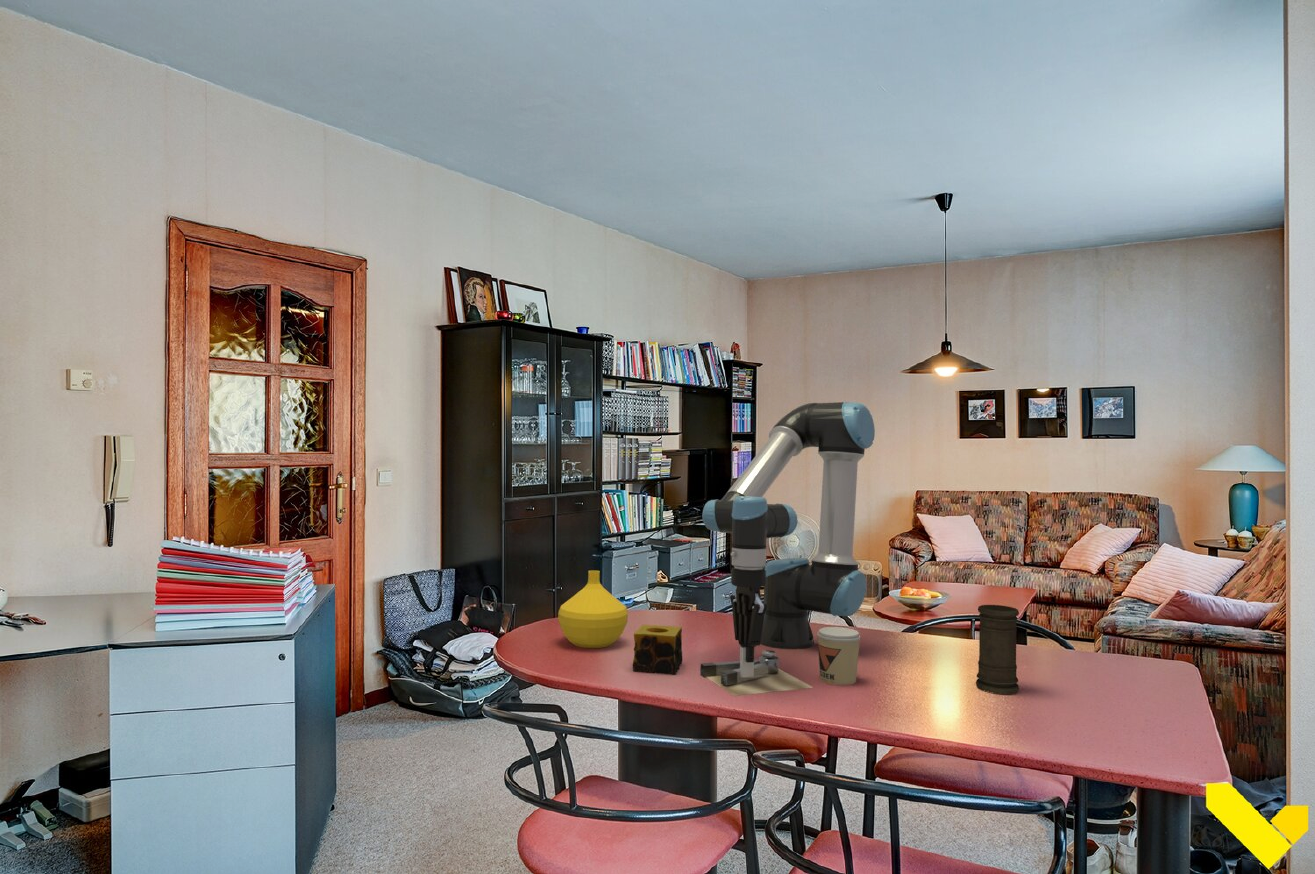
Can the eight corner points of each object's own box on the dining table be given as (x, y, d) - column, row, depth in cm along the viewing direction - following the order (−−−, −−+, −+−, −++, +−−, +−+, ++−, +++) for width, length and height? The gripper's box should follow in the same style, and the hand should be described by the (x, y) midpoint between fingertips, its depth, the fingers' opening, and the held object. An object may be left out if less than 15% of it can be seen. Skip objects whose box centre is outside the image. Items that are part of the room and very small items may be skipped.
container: (1000, 697, 176) (1001, 613, 176) (966, 685, 184) (968, 605, 184) (1028, 691, 180) (1029, 610, 180) (994, 680, 188) (995, 602, 188)
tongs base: (771, 668, 191) (771, 654, 191) (781, 673, 186) (782, 659, 186) (700, 674, 184) (700, 660, 184) (709, 680, 180) (709, 666, 180)
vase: (588, 632, 228) (590, 563, 228) (641, 642, 217) (642, 570, 217) (543, 644, 213) (544, 571, 213) (596, 656, 202) (598, 579, 202)
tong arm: (768, 668, 190) (768, 649, 190) (781, 672, 187) (782, 653, 187) (714, 681, 178) (714, 661, 178) (727, 685, 175) (727, 665, 175)
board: (774, 671, 192) (774, 666, 192) (813, 693, 176) (813, 687, 176) (700, 678, 185) (700, 673, 185) (733, 701, 169) (733, 695, 169)
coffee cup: (808, 681, 185) (809, 628, 185) (842, 677, 189) (843, 625, 189) (832, 693, 176) (833, 637, 176) (868, 688, 180) (869, 634, 180)
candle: (675, 680, 184) (676, 636, 184) (631, 677, 186) (632, 633, 186) (683, 668, 194) (683, 626, 194) (641, 665, 196) (642, 623, 196)
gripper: (720, 564, 183) (718, 670, 182) (747, 571, 171) (745, 685, 170) (750, 563, 186) (748, 667, 185) (778, 570, 174) (776, 682, 173)
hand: (746, 676), depth 178 cm, fingers closed
